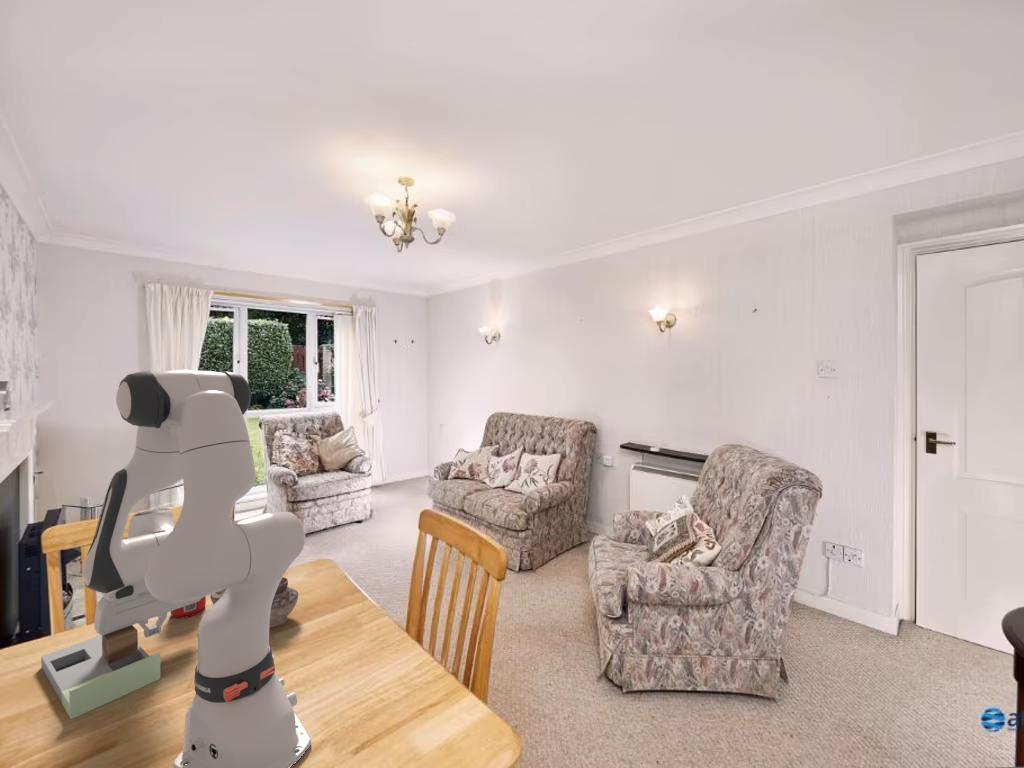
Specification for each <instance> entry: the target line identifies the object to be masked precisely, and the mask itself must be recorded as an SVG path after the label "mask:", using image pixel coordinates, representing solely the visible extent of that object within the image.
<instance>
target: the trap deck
mask: <svg viewBox="0 0 1024 768" xmlns="http://www.w3.org/2000/svg"><path fill="white" fill-rule="evenodd" d="M40 659H41V664H40V665H41V669H42V672H44V675H45V676H46V678H47V679H48V682H49V683H50V685H51V688H52V689H53V690H54V692H55V694H56V697H58V700H59V701H60V703H61V705H62V707H63V708H64V711H65V712H66V714H67V715H68V717H69V719H70V720H73V719H75V718H78V717H80V716H83V715H84V714H87V713H89V712H91V711H93V710H95V709H97V708H99V707H102V706H104V705H106V704H108V703H111V702H112V701H113V702H114V701H115V700H117V699H119V698H122V697H123V696H126V695H129V694H130V693H133V692H135V691H137V690H139V689H141V688H143V687H146V686H148V685H150V684H152V683H155V682H157V681H159V680H161V653H160V652H157V653H154V654H151V655H149V653H148V652H146V650H144V649H143V647H142V646H141V645H140V644H138V652H137V653H134V654H132V655H129V656H127V657H124V658H122V659H119V660H117V661H114V662H112V663H110V664H109V663H108V662H107V661H106V659H105V658H104V657H103V656H102V635H100V634H99V635H98V636H97V635H96V636H94V637H92V638H89V639H86V640H83V641H80V642H78V643H75V644H72V645H70V646H69V645H68V646H66V647H63V648H61V649H59V650H55V651H53V652H50V653H47V654H45V655H41V658H40Z"/></svg>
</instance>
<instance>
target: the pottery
mask: <svg viewBox="0 0 1024 768" xmlns="http://www.w3.org/2000/svg"><path fill="white" fill-rule="evenodd" d="M226 589H227V588H226ZM226 589H223V590H221V591H218V592H215V593H213V594H210V595H209V598H210V600H211V603H212V604H213V605H214V604H215V603H216V602H217V601H218V600H219V599H220V598H221V597H222V595H223V594H224V592H225V591H226ZM298 599H299V592H298V591H297V590H296V589H294V588H292V587H290V586H289V579H288V578H287V577H284V576H283V577H282V579H281V581H280V583H279V586H278V588H277V590H276V593H275V596H274V598H273V602H272V606H271V611H270V624H269V628H276V627H279V626H281V625H283V624H285V623H286V622H287V621H288V616H289V615H290V614H291V612H292V611H293V610H294V609H295V607H296V605H297V602H298ZM213 605H212V606H213Z"/></svg>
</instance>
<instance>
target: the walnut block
mask: <svg viewBox="0 0 1024 768" xmlns="http://www.w3.org/2000/svg"><path fill="white" fill-rule="evenodd" d="M138 633H139V632H138V629H137V628H136V627H135V626H134V625H131V626H128V627H125V628H122V629H120V630H117V631H114V632H111V633H108V634H106V635H102V656H103V657H104V658H105V659H106V661H107V662H108V663H109V664H110V663H112V662H114V661H117V660H119V659H122V658H124V657H127V656H129V655H132V654H134V653H137V652H138V645H139V643H138V642H139V639H138V638H139V635H138Z"/></svg>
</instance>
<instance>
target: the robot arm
mask: <svg viewBox="0 0 1024 768" xmlns="http://www.w3.org/2000/svg"><path fill="white" fill-rule="evenodd" d="M249 385H250V384H249V383H248V381H247V379H246V378H245V377H244V376H243V375H242V374H239V373H236V372H231V371H224V370H222V371H219V372H218V371H211V370H210V371H209V370H190V369H171V370H170V369H169V370H160V371H151V370H145V371H139V372H133V373H129V374H127V375H125V377H124V378H123V379H121V381H120V382H119V386H118V389H117V391H116V398H115V401H116V402H115V403H116V407H117V409H118V411H119V414H120V416H121V418H122V419H123V420H124V421H125V422H127V423H128V424H130V425H132V426H134V427H135V426H137V431H136V432H137V433H136V441H135V442H136V443H135V450H134V453H133V455H132V457H131V459H130V460H129V462H128V463H127V464H126V465H125V466H124V467H123V468H121V469H120V470H118V471H117V472H114V473H115V474H114V475H113V477H112V478H111V480H110V482H109V485H108V487H107V491H106V495H105V496H104V497H105V498H104V501H103V504H102V508H101V512H100V513H99V518H98V521H97V525H96V529H95V532H94V536H93V539H92V543H91V545H90V548H89V549H88V553H87V555H86V558H85V560H84V563H83V566H82V578H83V582H84V584H85V587H86V588H88V589H89V590H92V591H94V592H97V593H100V594H101V596H102V597H101V598H100V599H99V600H98V602H97V604H96V607H95V612H94V613H95V614H94V624H93V628H94V630H95V632H96V633H97V634H98V635H99V636H100V635H106V634H108V633H111V632H114V631H117V630H120V629H122V628H125V627H128V626H131V625H133V626H134V625H136V624H138V625H139V626H140V627H141V628H142V629H143V636H144V638H145V639H146V638H149V637H152V636H155V635H157V634H160V633H162V626H163V625H164V623H165V621H166V620H167V618H168V613H169V612H170V613H171V611H173V610H176V609H178V608H181V607H184V606H187V605H190V604H192V603H195V602H198V601H200V600H201V598H202V597H205V596H206V597H208V596H210V595H211V594H213V593H215V592H218V591H221V590H223V589H226V588H227V589H226V591H225V592H224V594H223V595H222V597H221V598H220V599H219V600H218V601H217V602H216V603H215V604H214V605H212V606H211V607H210V608H209V609H207V611H206V612H205V613H204V615H203V616H202V618H201V619H200V621H199V625H198V628H197V664H196V667H195V670H194V677H193V683H194V691H195V695H194V697H193V699H192V702H191V704H190V705H189V706H188V708H187V710H186V712H185V718H184V730H183V731H184V732H183V744H182V745H183V747H182V750H181V752H180V753H179V754H178V756H177V757H176V758H175V760H174V761H173V764H172V765H173V766H172V768H288V767H290V766H291V765H293V764H294V763H295V762H296V761H298V760H299V759H300V758H301V756H302V755H303V754H304V753H305V751H306V750H307V749H308V748H309V749H310V747H311V745H310V744H312V740H311V737H310V734H309V733H308V732H307V730H306V729H305V726H304V725H303V724H302V722H301V720H300V719H299V717H298V715H297V714H296V712H295V711H294V708H293V707H295V706H296V705H297V703H298V699H297V694H296V692H295V691H292V692H290V693H288V694H287V693H286V691H285V688H284V686H285V678H284V677H282V678H279V676H278V674H277V672H276V666H275V662H274V660H275V658H274V654H273V650H272V647H271V645H270V627H269V624H270V611H271V606H272V602H273V598H274V596H275V593H276V590H277V588H278V586H279V583H280V581H281V579H282V577H284V576H285V574H286V572H287V570H288V569H289V568H290V566H291V565H292V564H293V562H294V561H296V559H297V558H298V557H299V556H300V555H301V553H302V552H303V549H304V546H305V543H306V530H305V527H304V525H303V522H302V521H301V520H300V518H299V517H298V516H297V515H296V514H294V513H292V512H291V511H274V512H264V513H261V514H256V515H252V516H249V517H245V518H241V519H238V520H233V521H232V513H233V508H234V506H235V504H236V502H238V500H240V499H242V498H243V497H244V496H246V495H247V494H248V493H249V492H250V491H251V490H252V488H253V487H254V485H255V482H256V478H257V475H256V467H255V462H254V457H253V451H252V445H251V441H250V440H251V439H250V436H249V432H248V427H247V423H246V421H245V417H244V415H245V414H246V412H247V410H248V409H249V407H250V404H251V400H252V399H251V398H252V397H251V396H252V393H251V387H250V386H249ZM180 481H183V502H182V508H181V511H180V514H179V517H178V519H177V521H176V522H175V521H174V516H173V511H172V510H171V509H170V508H167V507H165V508H164V507H163V508H158V509H150V510H144V511H140V512H137V513H135V514H133V515H132V516H131V517H130V520H129V525H128V532H127V538H125V539H124V538H123V536H124V533H125V529H126V526H127V523H128V518H129V515H130V512H131V510H132V509H133V507H135V506H136V505H137V504H138V503H140V502H141V501H142V500H144V499H145V498H147V497H149V496H151V495H153V494H155V493H157V492H159V491H161V490H164V489H167V488H168V487H171V486H172V485H173V486H174V485H175V484H177V483H179V482H180ZM156 617H158V618H157V621H156V622H155V624H152V625H150V626H147V624H148V623H149V620H150V619H153V618H156ZM309 746H310V747H309ZM309 749H308V750H309ZM308 750H307V751H308ZM297 752H298V753H297ZM305 754H306V753H305ZM305 754H304V755H305ZM301 759H302V758H301ZM301 759H300V760H301ZM300 760H299V761H300ZM299 761H298V762H299ZM185 764H187V765H185ZM293 766H294V765H293Z"/></svg>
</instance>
